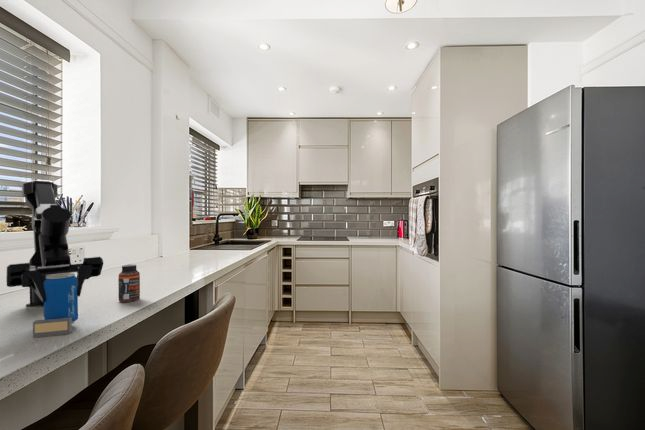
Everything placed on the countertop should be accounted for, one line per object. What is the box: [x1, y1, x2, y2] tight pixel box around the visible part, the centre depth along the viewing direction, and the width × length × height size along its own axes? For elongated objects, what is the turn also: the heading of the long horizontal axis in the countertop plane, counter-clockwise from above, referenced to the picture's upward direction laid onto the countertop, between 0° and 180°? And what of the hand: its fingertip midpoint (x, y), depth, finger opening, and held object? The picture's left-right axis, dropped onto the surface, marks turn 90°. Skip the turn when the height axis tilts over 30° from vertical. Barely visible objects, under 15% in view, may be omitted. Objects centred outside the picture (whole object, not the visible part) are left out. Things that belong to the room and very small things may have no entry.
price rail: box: [32, 317, 73, 338], centre depth 76 cm, size 7×1×4 cm, turn 107°
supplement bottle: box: [117, 264, 141, 303], centre depth 105 cm, size 6×6×11 cm
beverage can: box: [43, 273, 79, 325], centre depth 80 cm, size 6×6×12 cm
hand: (62, 298), depth 79 cm, fingers closed on beverage can, 6 cm apart
